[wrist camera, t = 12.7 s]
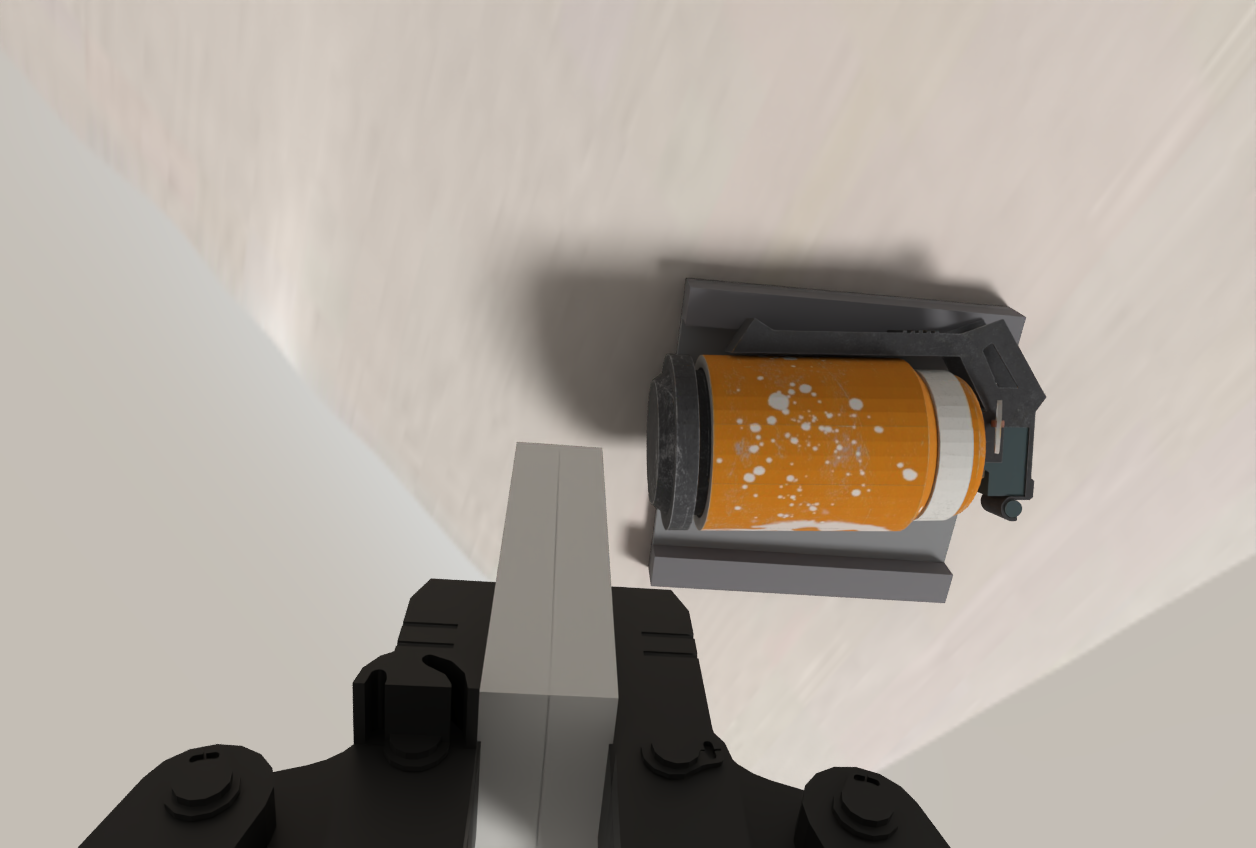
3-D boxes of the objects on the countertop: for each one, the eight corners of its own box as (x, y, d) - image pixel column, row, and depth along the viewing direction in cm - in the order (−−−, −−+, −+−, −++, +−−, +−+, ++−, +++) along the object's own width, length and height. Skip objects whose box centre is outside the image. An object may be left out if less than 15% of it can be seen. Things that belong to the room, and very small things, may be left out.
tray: (686, 278, 48) (690, 287, 46) (1009, 306, 49) (1026, 317, 47) (648, 567, 54) (650, 585, 53) (932, 584, 56) (944, 603, 54)
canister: (658, 549, 42) (1073, 550, 43) (664, 310, 40) (1089, 319, 42) (643, 510, 50) (986, 512, 52) (647, 313, 49) (998, 320, 51)
